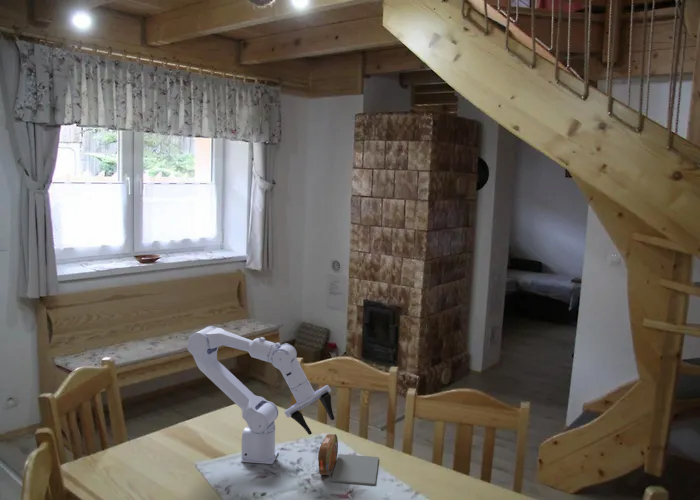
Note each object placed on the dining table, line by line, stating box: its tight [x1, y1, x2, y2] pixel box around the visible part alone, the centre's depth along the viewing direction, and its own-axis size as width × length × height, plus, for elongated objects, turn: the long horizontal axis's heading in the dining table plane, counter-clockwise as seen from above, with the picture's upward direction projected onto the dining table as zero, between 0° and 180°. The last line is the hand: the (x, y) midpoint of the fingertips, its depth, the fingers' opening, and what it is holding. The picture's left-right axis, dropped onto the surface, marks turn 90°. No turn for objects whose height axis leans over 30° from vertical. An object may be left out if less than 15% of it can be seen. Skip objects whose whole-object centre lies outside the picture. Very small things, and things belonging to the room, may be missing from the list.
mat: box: [330, 453, 380, 486], centre depth 171 cm, size 12×16×1 cm
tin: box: [317, 433, 339, 476], centre depth 171 cm, size 15×3×8 cm, turn 169°
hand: (321, 426), depth 171 cm, fingers open, 7 cm apart
